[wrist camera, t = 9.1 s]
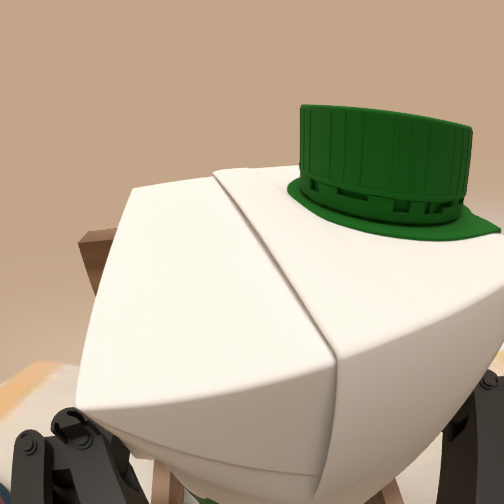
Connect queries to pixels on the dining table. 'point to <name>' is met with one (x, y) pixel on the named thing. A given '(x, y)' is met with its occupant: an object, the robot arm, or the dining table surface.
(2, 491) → the soda can
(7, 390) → the dining table surface
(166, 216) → the soya milk
